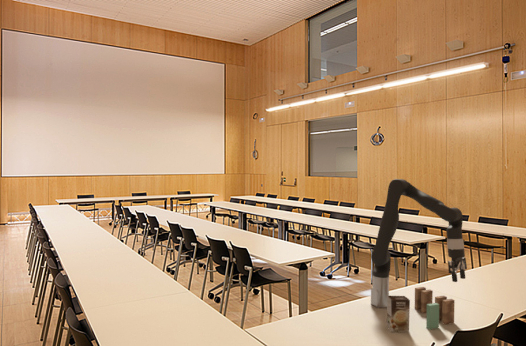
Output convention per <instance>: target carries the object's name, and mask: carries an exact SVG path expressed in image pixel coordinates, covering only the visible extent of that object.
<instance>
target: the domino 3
mask: <svg viewBox="0 0 526 346" xmlns="http://www.w3.org/2000/svg"><path fill="white" fill-rule="evenodd" d="M425 321H426V324H425V325H426V329H428V330H429V329H430V330H433V329H432V328H435V329H438V327H439V328H440V320H439V304H438V303H435V302H432V304H427V313H426V320H425Z"/></svg>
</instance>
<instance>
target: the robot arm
mask: <svg viewBox="0 0 526 346" xmlns="http://www.w3.org/2000/svg"><path fill="white" fill-rule="evenodd" d="M401 196H404V197H407V198H410V199H412V200H414V201H415V202H417V203H418V204H419V205H421V207H423V208H425V209H426V210H428V211H429V212H432V213H433V214H436V215H437V216H438V217H439V218H440V219H442V220H444V221H445V222H448V226H447V228H446V230H445V231H446V246H447V256H448V258H450V259H451V260H448V261H447V267H448V268H447V269H448V274H451V281H452V282H453V283H457V282H458V274H457V273H458V271H459V278H460V279H463V280H464V279H466V270H467V269H468V267H467V259H466V254H465V245H464V244H465V242H464V239H463V230H462V227H463V221H464V220H463V219H464V217H463V213H462V210H461V209H460V208H458V207H448V206H447V205H446V204H444V202H443V201H441V199H440V200H439V199H437V198H436V197H433V196H431V195H430V194H428V193H426V192H424V191H422V190H420V189H418V188H417V187H416V186H415V185H413V184H411V182H409V181H407V180H406V179H403V178H394V179H392V180H391V181H390V182H389V184H388V188H387V194H386V201H385V205H384V209H383V212H382V215H381V220H380V224H379V228H378V232H377V238H376V241H375V244H374V247H373V249H372V252H371V260H372V261H371V262H372V263H373V264H374V266H373V270H372V287H370V305H373V306H374V307H375V308H387V298H388V296H390V271H391V262H392V261H391V253H390V251H389V248H390V244H391V242H392V239H393V238H394V235H395V233H396V231H397V229H398V224H399V221H400V213H399V212H400V211H399V204H400V200H401Z"/></svg>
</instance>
